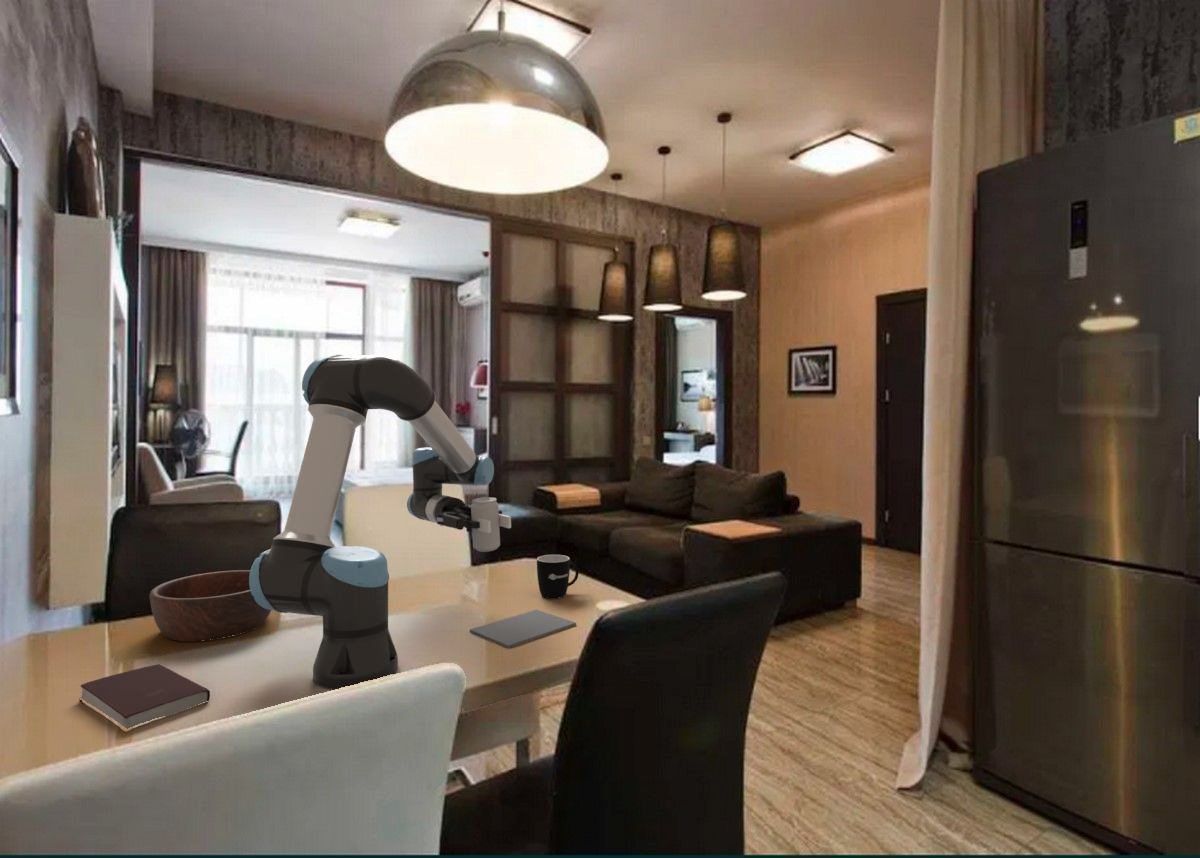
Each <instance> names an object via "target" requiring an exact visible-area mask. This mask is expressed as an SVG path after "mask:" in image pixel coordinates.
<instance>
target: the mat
mask: <svg viewBox="0 0 1200 858" xmlns="http://www.w3.org/2000/svg"><path fill="white" fill-rule="evenodd" d="M574 625H575V626H577V622H576V621H572V620H569V619H566V618H563V617H560V616H557V615H554V614H551V613H548V612H545V611H541V610H539V609H534V610H531V611H527V612H523V613H521V614H520V613H519V614H518V615H517V614H516V615H514V616H510V617H507V618H503V619H500V620H497V621H493V622H489V623H487V624H484V625H480V626H477V627H473V628H470V629H469V633H471V634H473V635H476V636H478V637H481V638H483V639H486V640H488V641H489V642H490V641H491V642H492V643H495V644H498V645H500V646H502V647H505V648H508V649H510V647H511V648H513V647H516V646H519V645H522V644H525V643H528V642H530V640H531V641H534V640H537V639H539V637H540V638H542V636H543V637H546V636H549V635H552V634H554V633H557V632H559V631H563V630H566V629H569V628H571V626H572V627H575V626H574ZM568 627H569V628H568ZM551 633H552V634H551ZM548 634H549V635H548ZM545 635H546V636H545ZM536 638H537V639H536ZM533 639H534V640H533ZM527 641H528V642H527ZM524 642H525V643H524Z"/></svg>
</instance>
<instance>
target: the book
mask: <svg viewBox="0 0 1200 858" xmlns="http://www.w3.org/2000/svg"><path fill="white" fill-rule="evenodd" d="M80 688H81V692H82V693H81V697H80V698H82V699H83V700H85V701H86V702H87V703H89V704H91V705H92V706H94V707H96V708H97V709H99V710H100V711H102V712H103V713H105V714H106V715H108V716H109V717H111V718H113V719H114V720H115V721H117V722H118V723H120V724H121V725H122V726H124V727H125V728H127V729H128V728H130V727H133V726H135V725H138V724H140V723H144V722H146V721H150V720H152V719H155V718H159V717H163V716H168V715H171V714H174V713H176V714H178V713H177V712H179V713H181V712H180V711H182V710H185V709H187V708H190V707H193V706H195V705H198V704H200V703H203V702H206V701H208V702H209V701H210V698H211V692H210V690H209V689H208V687H207V688H206V687H205V686H203V685H200V684H198V683H196V682H194V681H193V680H191V679H189V678H186V677H184V676H183V675H181V674H179V673H178V672H176V671H174V670H172V669H170V668H168V667H166V666H165V665H162V664H160V663H157V664H151V665H148V666H144V667H140V668H136V669H135V668H134V669H131V670H127V671H124V672H123V671H122V672H119V673H116V674H112V675H108V676H105V677H101V678H98V679H94V680H92V681H87V682H85V683H82V684H80ZM193 708H194V707H193ZM190 709H191V708H190ZM185 711H186V710H185ZM182 712H183V711H182ZM174 715H175V714H174ZM171 716H172V715H171ZM168 717H169V716H168Z"/></svg>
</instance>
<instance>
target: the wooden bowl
mask: <svg viewBox="0 0 1200 858" xmlns="http://www.w3.org/2000/svg"><path fill="white" fill-rule="evenodd" d="M250 570H251V569H249V570H248V569H245V570H244V569H238V570H236V569H235V570H223V571H222V570H221V571H214V572H206V573H198V574H192V575H188V576H184V577H180V578H176V579H172V580H169V581H165V582H163V583H161V584H158V585H157V586H155V587H154V588H152V589H151V591H150V592H149V602H150V608H151V613H152V616H153V619H154V622H155V624H156V627H157V628H158V630H159V631H160V633H161V634H162V635H163V636H164V637H166V638H167V639H168V640H171V639H172V640H171V641H175V640H178V641H177V642H182V641H199V642H203V641H202V640H210V639H211V640H210V641H213V640H212V639H217V638H223V637H228V636H232V635H236V636H238V635H237V634H240V633H243V632H246V633H247V631H249V632H251V631H253V630H255V629H254V628H256V629H257V628H259V627H260V626H262V625H263V624H264V623H265V622H267V621H266V620H267V619H268V618H269V616H270V614H271V612H272V610H268V609H265V608H263V607H261V606H260V605H259V604H258V603H257V602H256V601H255V598H254V596H253V595H252V594H251V591H250V586H249V575H250ZM258 626H259V627H258ZM252 629H253V630H252ZM250 630H251V631H250ZM243 634H244V633H243ZM240 635H241V634H240ZM232 637H233V636H232ZM228 638H229V637H228ZM223 639H224V638H223ZM217 640H218V639H217Z"/></svg>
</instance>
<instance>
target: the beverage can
mask: <svg viewBox="0 0 1200 858" xmlns="http://www.w3.org/2000/svg"><path fill="white" fill-rule="evenodd" d="M470 507H471V517H472V520H473V521H478V519H485V520H489V521H491V533H486V532H483V531H479V530H478V528H477V529H474V528H472V531H471V532H472V534H471V535H472V536H471V537H472V547H473V549H474V550H476V552H480V553H488V552H493V551H495V550H497V549H498V548H499V547H500V546H501V536H500V535H501V534H500V533H501V532H500V526H499V510H500V509H499V502H497V498H496V497H490V496H488V497H486V496H485V497H478V498H474V499H472V501H471V505H470Z"/></svg>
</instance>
